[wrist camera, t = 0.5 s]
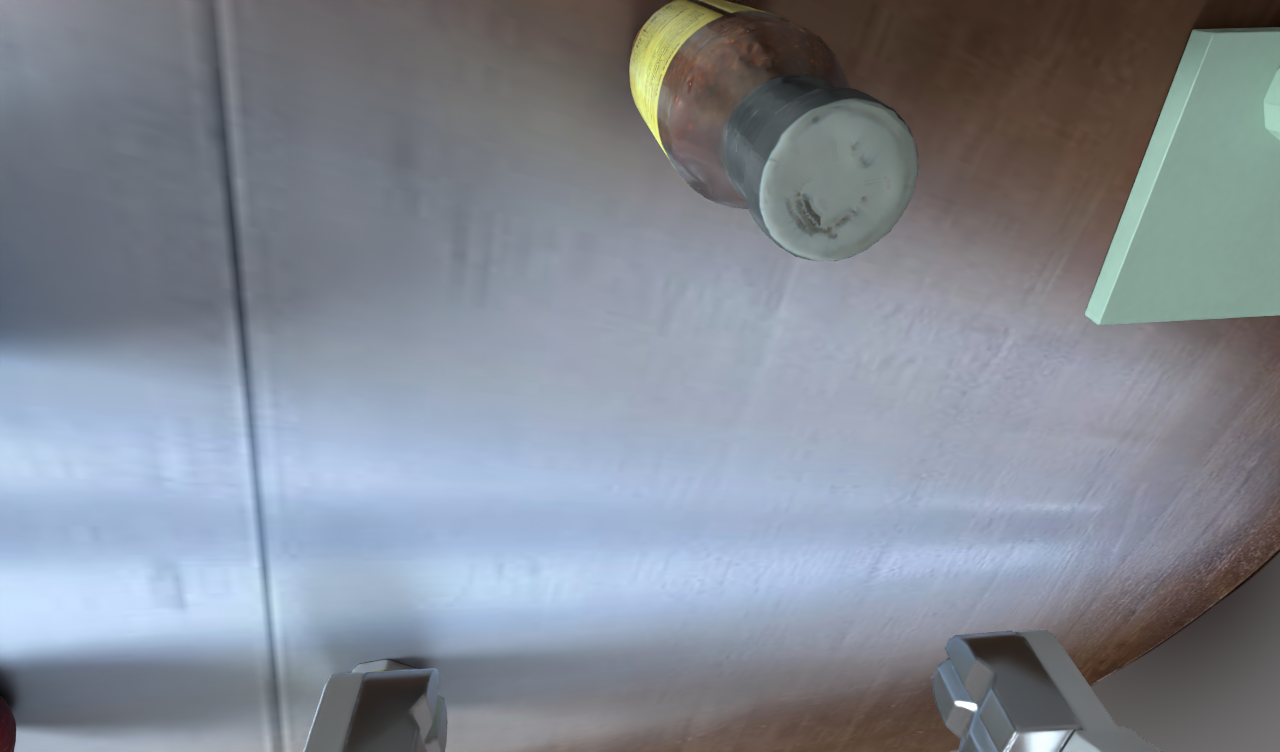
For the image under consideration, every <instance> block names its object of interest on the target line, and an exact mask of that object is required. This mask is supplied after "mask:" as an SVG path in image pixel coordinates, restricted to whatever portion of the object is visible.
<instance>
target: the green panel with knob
mask: <svg viewBox="0 0 1280 752" xmlns="http://www.w3.org/2000/svg"><path fill="white" fill-rule="evenodd" d="M1085 315H1086V316H1087V317H1088V318H1090V319H1091V320H1092V321H1094V322H1095V323H1096V324H1098V325H1107V324H1126V323H1144V322H1162V321H1181V320H1199V319H1217V318H1236V317H1254V316H1272V315H1280V27H1265V28H1226V29H1194V30H1192V32H1191V35H1190V38H1189V40H1188V43H1187V46H1186V48H1185V51H1184V54H1183V56H1182V59H1181V61H1180V64H1179V67H1178V69H1177V72H1176V75H1175V77H1174V80H1173V83H1172V85H1171V88H1170V90H1169V93H1168V96H1167V98H1166V101H1165V104H1164V106H1163V109H1162V112H1161V114H1160V117H1159V119H1158V122H1157V125H1156V127H1155V130H1154V133H1153V135H1152V138H1151V141H1150V143H1149V146H1148V148H1147V151H1146V154H1145V156H1144V159H1143V162H1142V164H1141V167H1140V170H1139V172H1138V175H1137V177H1136V180H1135V183H1134V185H1133V188H1132V191H1131V193H1130V196H1129V199H1128V201H1127V204H1126V206H1125V209H1124V212H1123V214H1122V217H1121V220H1120V222H1119V225H1118V228H1117V230H1116V233H1115V235H1114V238H1113V241H1112V243H1111V246H1110V249H1109V251H1108V254H1107V257H1106V259H1105V262H1104V264H1103V267H1102V270H1101V272H1100V275H1099V278H1098V280H1097V283H1096V286H1095V288H1094V291H1093V293H1092V296H1091V299H1090V301H1089V304H1088V307H1087V309H1086V312H1085Z"/></svg>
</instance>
